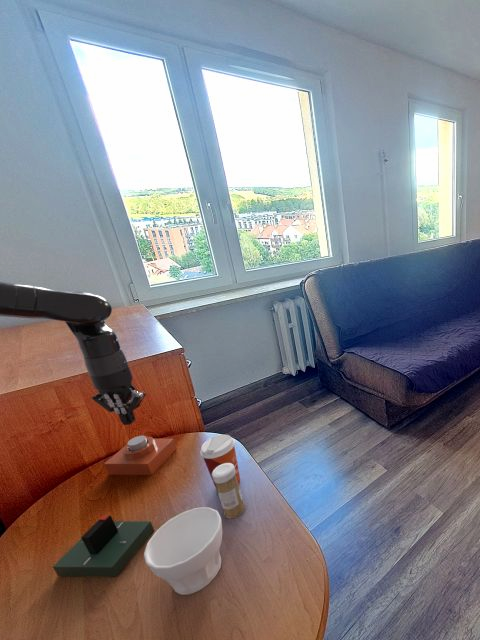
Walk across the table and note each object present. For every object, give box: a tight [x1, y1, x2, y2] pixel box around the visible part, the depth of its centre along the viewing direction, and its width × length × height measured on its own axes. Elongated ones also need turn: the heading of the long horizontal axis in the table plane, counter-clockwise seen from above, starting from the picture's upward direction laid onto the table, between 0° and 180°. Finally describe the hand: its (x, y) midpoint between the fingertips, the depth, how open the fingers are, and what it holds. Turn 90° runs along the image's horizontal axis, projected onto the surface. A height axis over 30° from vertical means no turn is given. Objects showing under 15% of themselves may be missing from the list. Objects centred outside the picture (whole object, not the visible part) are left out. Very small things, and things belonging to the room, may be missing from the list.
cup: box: [143, 507, 223, 596], centre depth 67 cm, size 12×12×11 cm
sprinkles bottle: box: [211, 463, 246, 520], centre depth 79 cm, size 5×5×14 cm
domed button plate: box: [103, 436, 178, 476], centre depth 95 cm, size 12×10×6 cm
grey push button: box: [126, 435, 148, 451], centre depth 94 cm, size 4×4×2 cm
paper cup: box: [199, 433, 241, 491], centre depth 87 cm, size 8×8×14 cm
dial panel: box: [52, 520, 155, 578], centre depth 72 cm, size 12×10×3 cm
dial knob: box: [80, 514, 118, 554], centre depth 70 cm, size 5×2×5 cm, turn 179°
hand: (129, 422), depth 92 cm, fingers closed
